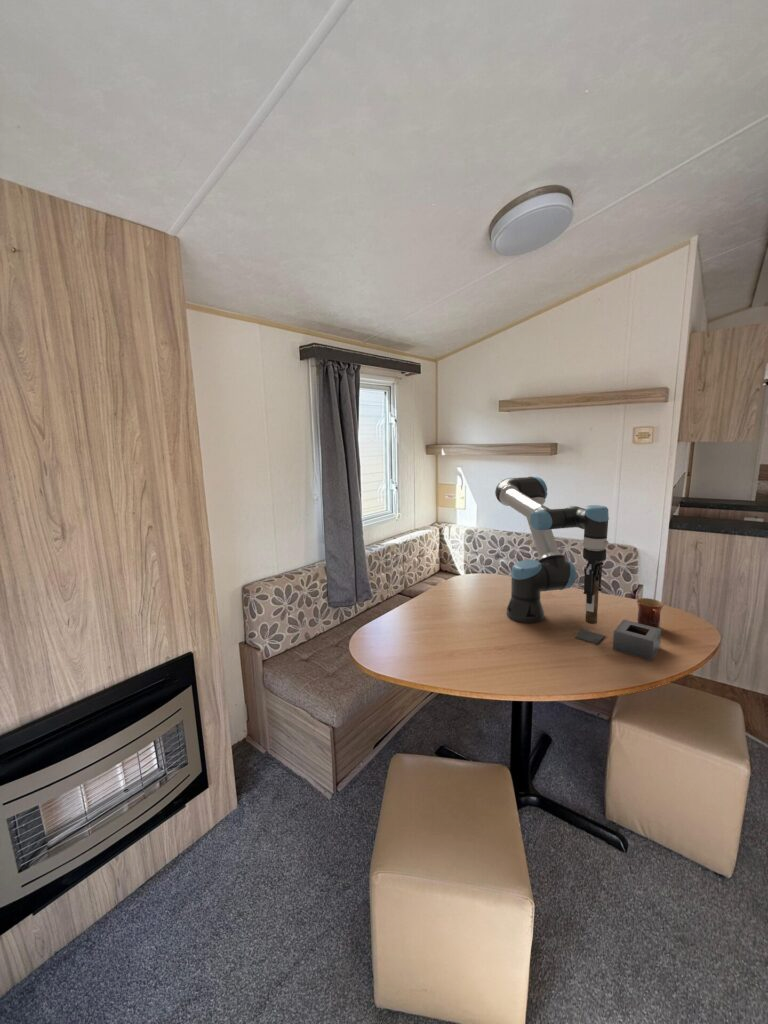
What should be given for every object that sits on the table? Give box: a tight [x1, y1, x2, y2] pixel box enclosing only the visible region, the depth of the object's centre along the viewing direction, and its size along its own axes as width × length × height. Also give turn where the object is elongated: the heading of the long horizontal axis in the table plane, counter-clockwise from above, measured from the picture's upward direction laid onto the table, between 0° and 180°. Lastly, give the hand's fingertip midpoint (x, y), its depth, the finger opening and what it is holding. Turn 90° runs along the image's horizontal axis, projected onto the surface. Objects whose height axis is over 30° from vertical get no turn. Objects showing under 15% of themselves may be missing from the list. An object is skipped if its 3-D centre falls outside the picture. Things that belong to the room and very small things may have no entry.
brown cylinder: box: [585, 580, 600, 625], centre depth 153 cm, size 4×4×16 cm
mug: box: [636, 597, 664, 629], centre depth 160 cm, size 12×9×10 cm
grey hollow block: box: [612, 619, 662, 662], centre depth 146 cm, size 12×12×7 cm
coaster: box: [574, 628, 605, 646], centre depth 156 cm, size 8×8×1 cm
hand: (591, 609), depth 154 cm, fingers closed on brown cylinder, 4 cm apart
